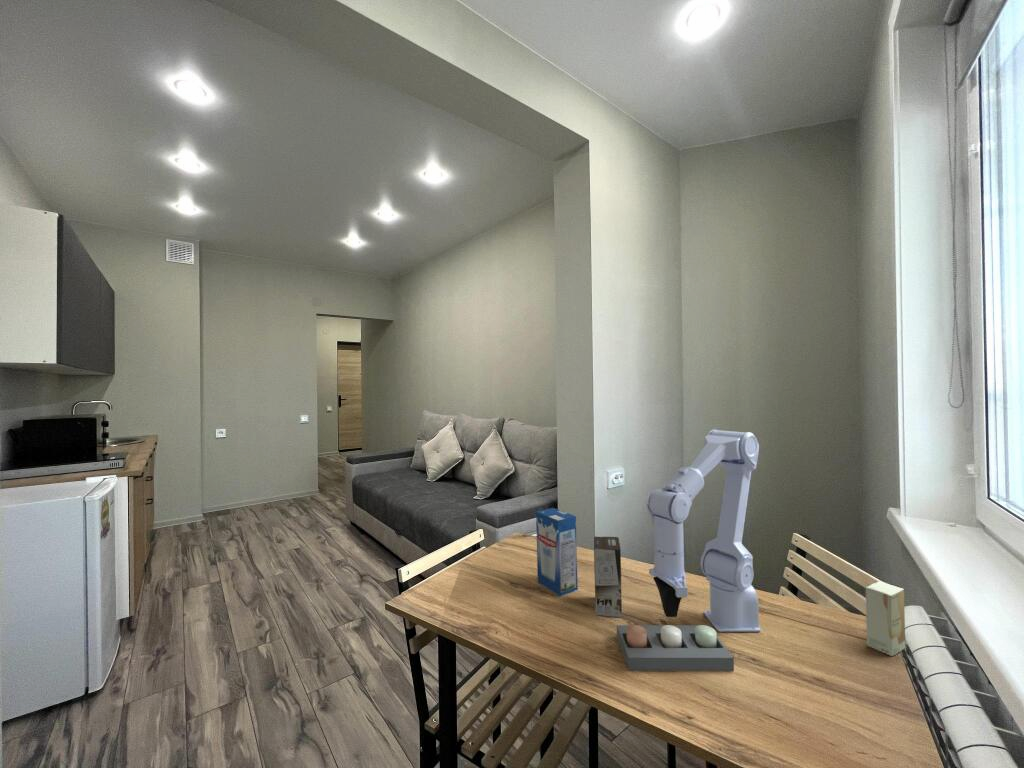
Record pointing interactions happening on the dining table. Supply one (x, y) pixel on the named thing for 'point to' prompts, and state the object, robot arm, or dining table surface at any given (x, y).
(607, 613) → the coffee box
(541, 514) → the milk carton
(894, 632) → the skincare box
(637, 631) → the terracotta button
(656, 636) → the button panel
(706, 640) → the pale green egg
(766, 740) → the dining table surface
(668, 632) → the white rounded piece
